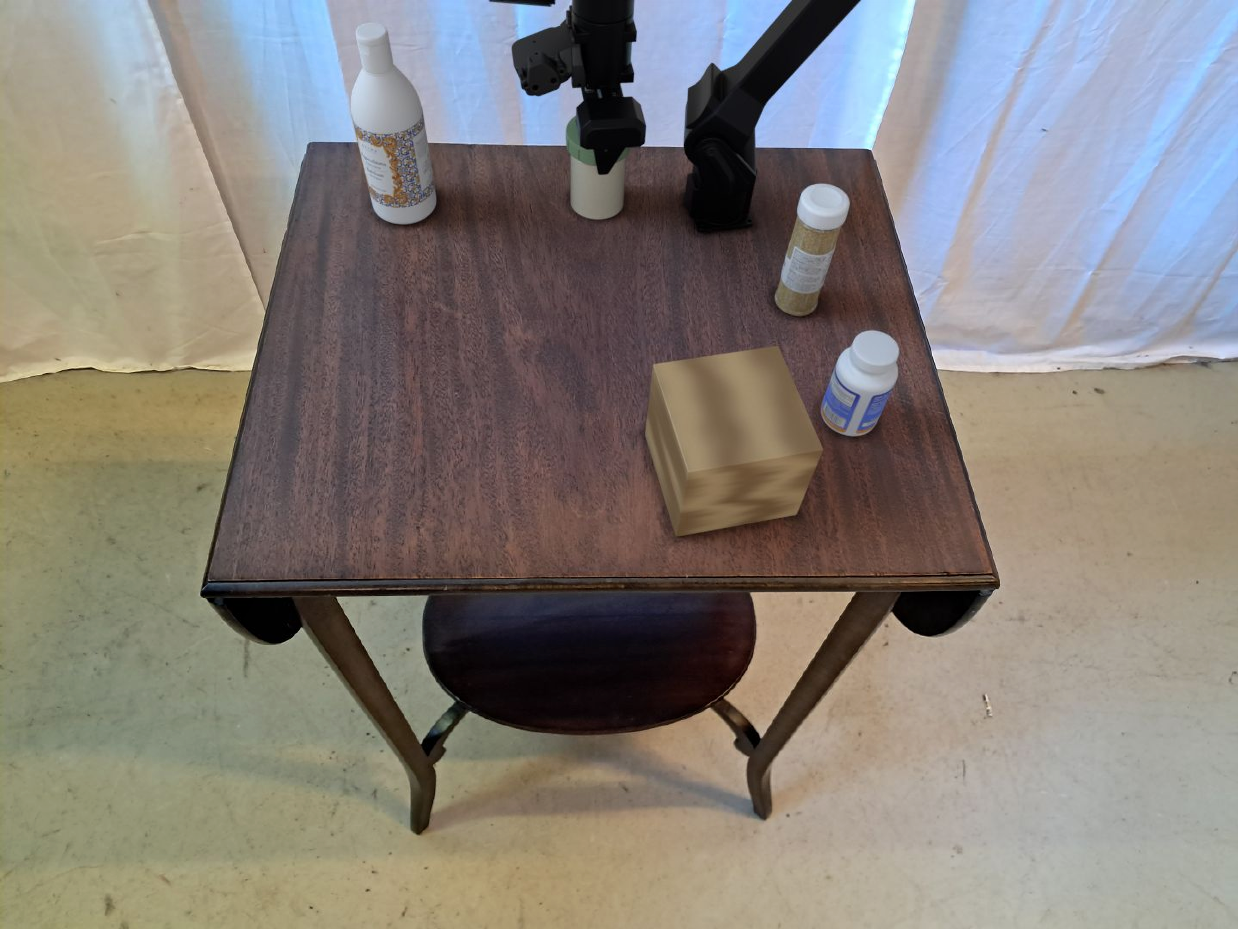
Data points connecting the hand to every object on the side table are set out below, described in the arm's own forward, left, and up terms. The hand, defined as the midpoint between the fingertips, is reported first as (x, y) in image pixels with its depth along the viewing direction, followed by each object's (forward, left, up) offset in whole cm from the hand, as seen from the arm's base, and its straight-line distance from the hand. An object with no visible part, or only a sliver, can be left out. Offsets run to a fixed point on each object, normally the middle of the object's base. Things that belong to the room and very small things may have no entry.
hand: (598, 152), depth 94 cm
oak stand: (-3, +38, -6) cm, 39 cm away
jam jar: (0, 0, -6) cm, 6 cm away
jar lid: (0, 0, +2) cm, 2 cm away
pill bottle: (-17, +34, -7) cm, 39 cm away
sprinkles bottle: (-17, +19, -7) cm, 26 cm away
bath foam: (+21, -3, -7) cm, 22 cm away
